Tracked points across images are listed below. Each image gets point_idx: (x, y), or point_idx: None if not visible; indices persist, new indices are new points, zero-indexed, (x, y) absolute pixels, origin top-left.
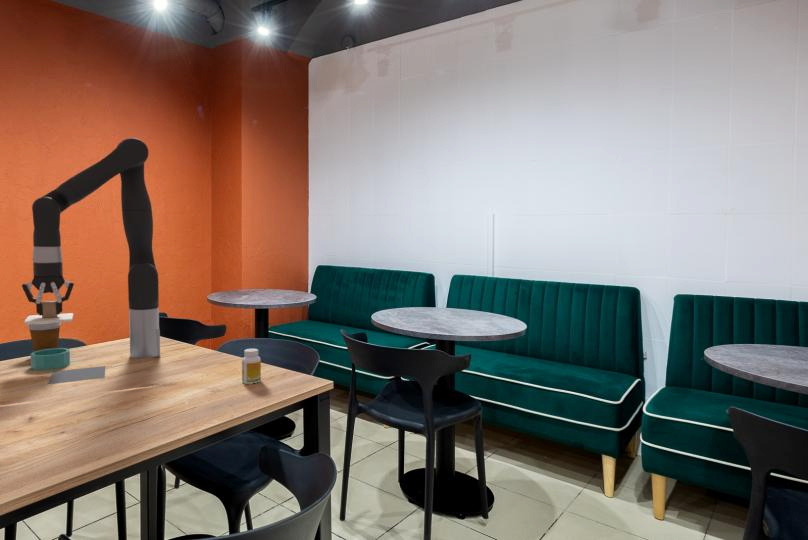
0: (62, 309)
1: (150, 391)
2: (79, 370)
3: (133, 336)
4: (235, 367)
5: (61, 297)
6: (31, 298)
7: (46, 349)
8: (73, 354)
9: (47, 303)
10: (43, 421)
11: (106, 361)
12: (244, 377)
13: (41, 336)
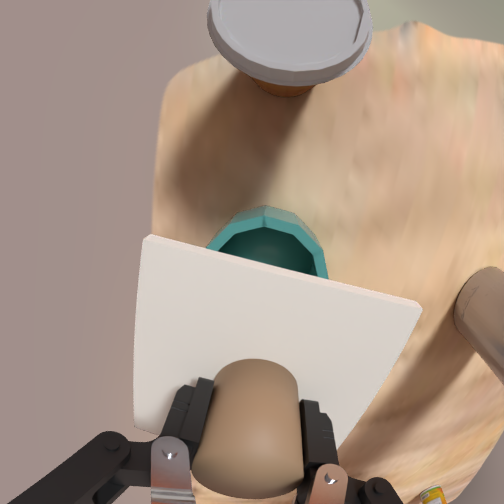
0: (332, 425)
1: None
2: None
3: (486, 356)
4: (475, 445)
5: (345, 494)
6: (116, 487)
7: (259, 224)
8: (365, 116)
9: (227, 490)
10: (205, 499)
11: (404, 296)
12: (421, 500)
13: (263, 81)
